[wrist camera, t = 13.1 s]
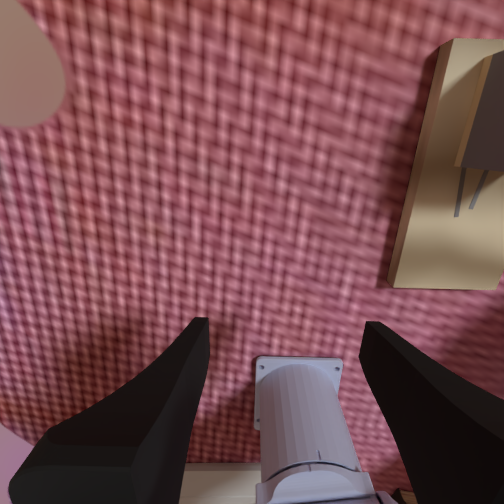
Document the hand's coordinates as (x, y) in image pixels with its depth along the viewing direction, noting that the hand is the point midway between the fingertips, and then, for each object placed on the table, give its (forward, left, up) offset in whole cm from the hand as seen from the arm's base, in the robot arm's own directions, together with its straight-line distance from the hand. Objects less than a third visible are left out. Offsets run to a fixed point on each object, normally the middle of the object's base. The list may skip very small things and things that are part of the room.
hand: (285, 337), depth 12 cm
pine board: (+6, -14, -10) cm, 18 cm away
